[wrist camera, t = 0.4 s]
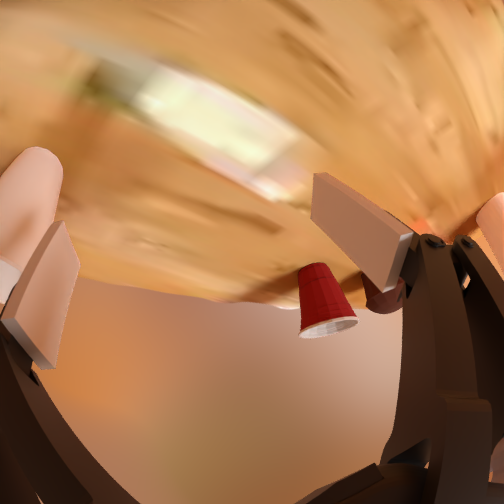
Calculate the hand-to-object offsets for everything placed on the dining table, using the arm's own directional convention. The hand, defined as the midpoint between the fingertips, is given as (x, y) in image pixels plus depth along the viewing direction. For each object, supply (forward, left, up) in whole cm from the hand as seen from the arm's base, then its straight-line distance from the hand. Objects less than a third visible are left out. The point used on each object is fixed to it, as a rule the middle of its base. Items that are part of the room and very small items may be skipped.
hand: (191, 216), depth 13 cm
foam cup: (+4, -17, -13) cm, 22 cm away
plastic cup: (+32, +19, -13) cm, 39 cm away
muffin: (+36, +37, -13) cm, 53 cm away
